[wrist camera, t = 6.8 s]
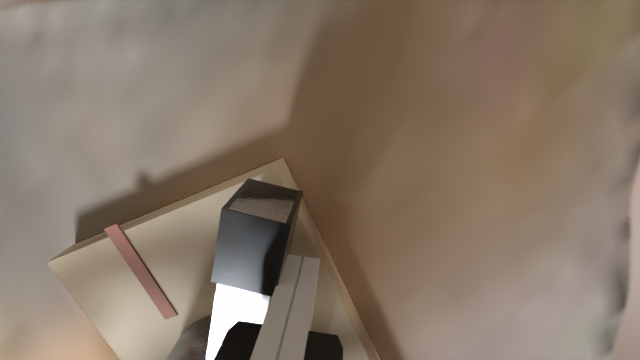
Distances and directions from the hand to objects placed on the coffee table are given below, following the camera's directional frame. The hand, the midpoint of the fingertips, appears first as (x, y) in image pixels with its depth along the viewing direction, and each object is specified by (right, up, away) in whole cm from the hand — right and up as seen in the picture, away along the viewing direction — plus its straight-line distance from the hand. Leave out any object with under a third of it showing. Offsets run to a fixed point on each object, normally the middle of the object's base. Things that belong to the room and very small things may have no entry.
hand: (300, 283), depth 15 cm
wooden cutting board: (-3, -6, +7) cm, 10 cm away
